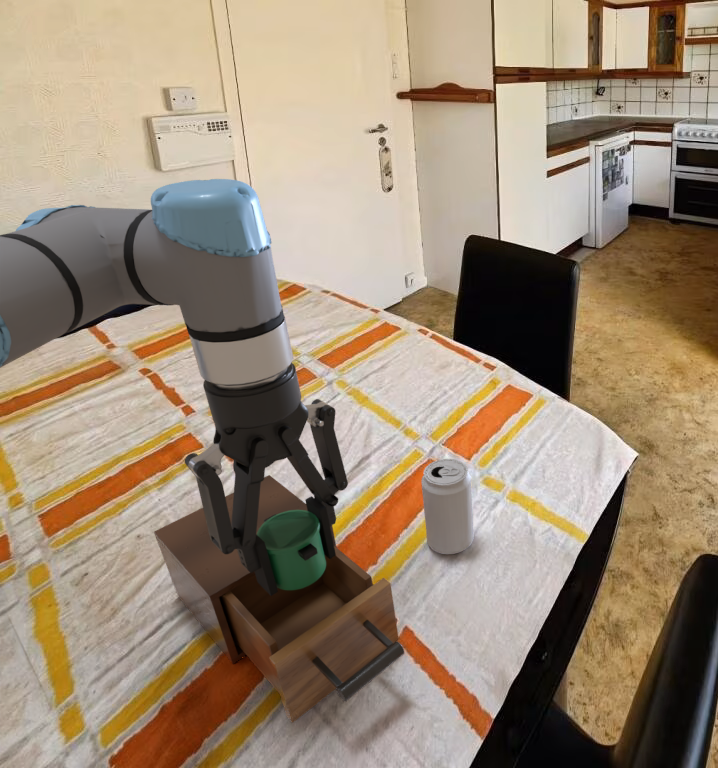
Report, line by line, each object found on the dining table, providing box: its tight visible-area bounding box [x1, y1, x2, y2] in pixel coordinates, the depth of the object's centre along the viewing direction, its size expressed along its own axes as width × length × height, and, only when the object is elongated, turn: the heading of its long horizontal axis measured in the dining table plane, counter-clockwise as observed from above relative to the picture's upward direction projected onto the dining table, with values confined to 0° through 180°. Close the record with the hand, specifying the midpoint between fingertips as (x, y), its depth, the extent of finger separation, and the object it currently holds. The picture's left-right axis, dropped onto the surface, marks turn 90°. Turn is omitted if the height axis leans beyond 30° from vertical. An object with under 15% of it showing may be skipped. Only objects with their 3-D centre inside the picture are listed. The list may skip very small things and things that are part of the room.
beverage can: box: [420, 458, 475, 555], centre depth 83 cm, size 6×6×12 cm
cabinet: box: [153, 474, 338, 665], centre depth 75 cm, size 15×15×11 cm
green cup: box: [257, 510, 326, 590], centre depth 63 cm, size 8×6×6 cm
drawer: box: [220, 546, 405, 723], centre depth 66 cm, size 19×13×9 cm
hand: (297, 568), depth 64 cm, fingers closed on green cup, 6 cm apart
